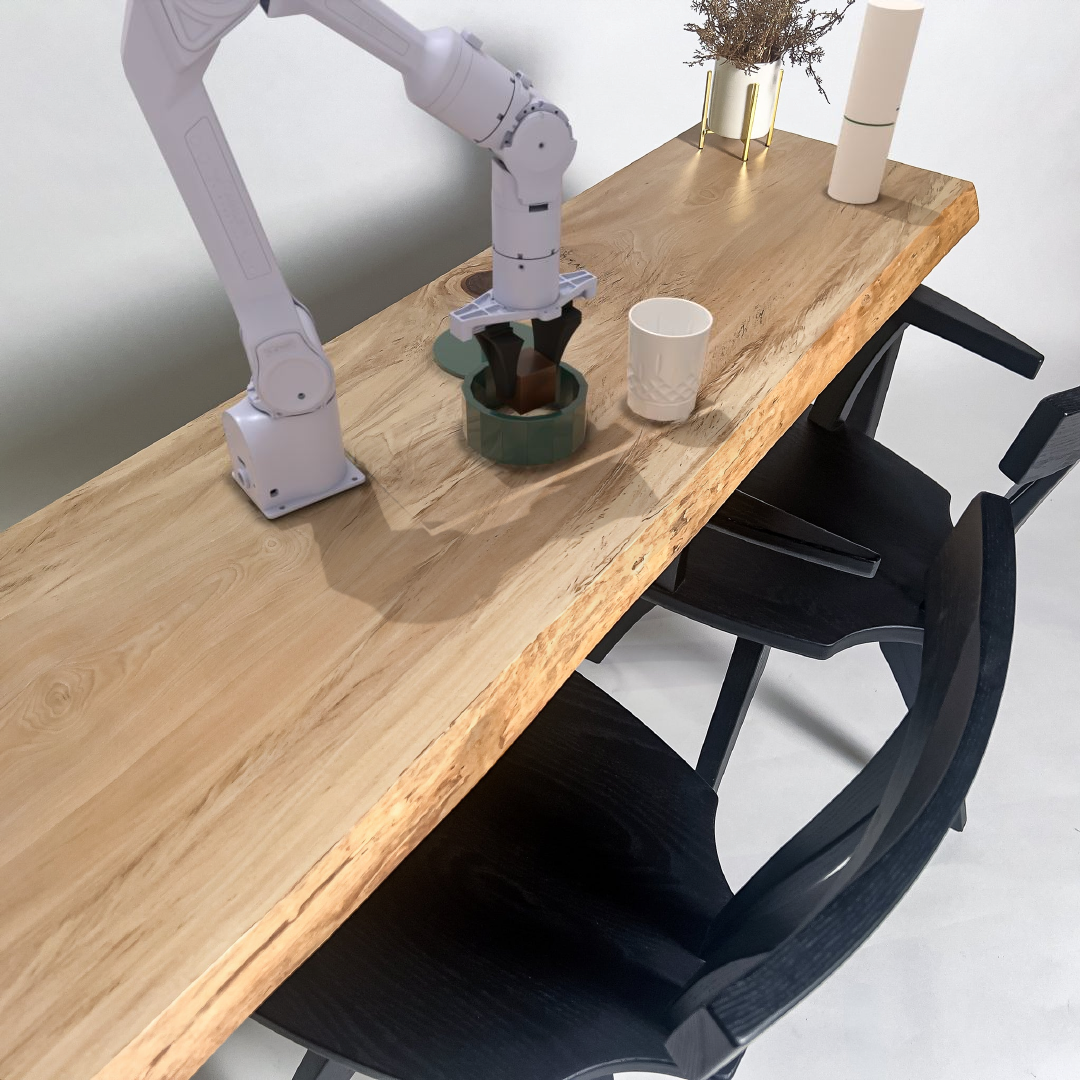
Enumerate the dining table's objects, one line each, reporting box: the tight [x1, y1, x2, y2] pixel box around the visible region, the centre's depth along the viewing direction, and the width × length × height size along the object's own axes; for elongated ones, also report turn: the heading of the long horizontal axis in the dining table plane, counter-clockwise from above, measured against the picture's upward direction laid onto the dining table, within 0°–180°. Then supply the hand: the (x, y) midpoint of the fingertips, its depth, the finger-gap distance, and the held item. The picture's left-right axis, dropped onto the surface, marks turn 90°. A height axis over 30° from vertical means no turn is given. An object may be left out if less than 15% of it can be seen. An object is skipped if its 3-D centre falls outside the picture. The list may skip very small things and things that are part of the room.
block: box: [496, 347, 556, 416], centre depth 89 cm, size 4×4×4 cm
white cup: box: [626, 296, 714, 425], centre depth 94 cm, size 8×8×10 cm
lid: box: [432, 321, 534, 380], centre depth 103 cm, size 13×13×5 cm
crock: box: [460, 360, 589, 467], centre depth 91 cm, size 12×12×5 cm
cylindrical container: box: [827, 0, 926, 205], centre depth 134 cm, size 7×7×25 cm
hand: (525, 386), depth 90 cm, fingers closed on block, 4 cm apart
